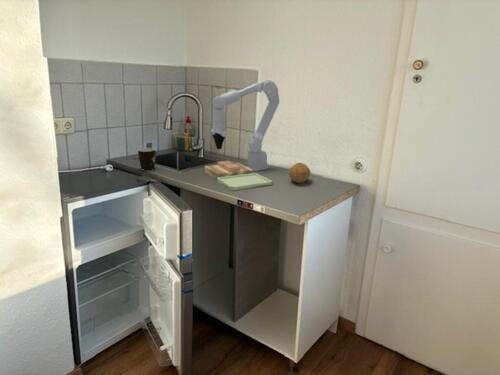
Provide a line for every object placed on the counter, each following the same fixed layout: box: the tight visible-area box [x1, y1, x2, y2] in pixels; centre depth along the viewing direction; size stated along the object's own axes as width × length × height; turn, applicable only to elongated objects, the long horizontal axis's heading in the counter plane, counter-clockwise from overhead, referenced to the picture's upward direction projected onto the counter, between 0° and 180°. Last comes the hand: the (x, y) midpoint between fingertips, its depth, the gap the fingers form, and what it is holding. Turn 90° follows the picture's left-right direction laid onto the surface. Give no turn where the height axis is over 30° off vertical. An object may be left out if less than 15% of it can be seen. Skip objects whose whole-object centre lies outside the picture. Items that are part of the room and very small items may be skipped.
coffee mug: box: [137, 147, 157, 171], centre depth 188 cm, size 12×9×10 cm
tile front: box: [224, 164, 241, 172], centre depth 180 cm, size 6×6×2 cm
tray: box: [216, 172, 274, 192], centre depth 170 cm, size 20×16×2 cm
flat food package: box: [204, 162, 254, 180], centre depth 184 cm, size 18×16×3 cm
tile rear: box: [217, 160, 235, 168], centre depth 186 cm, size 6×6×2 cm
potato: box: [288, 162, 311, 184], centre depth 172 cm, size 10×14×8 cm
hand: (219, 148), depth 191 cm, fingers closed
